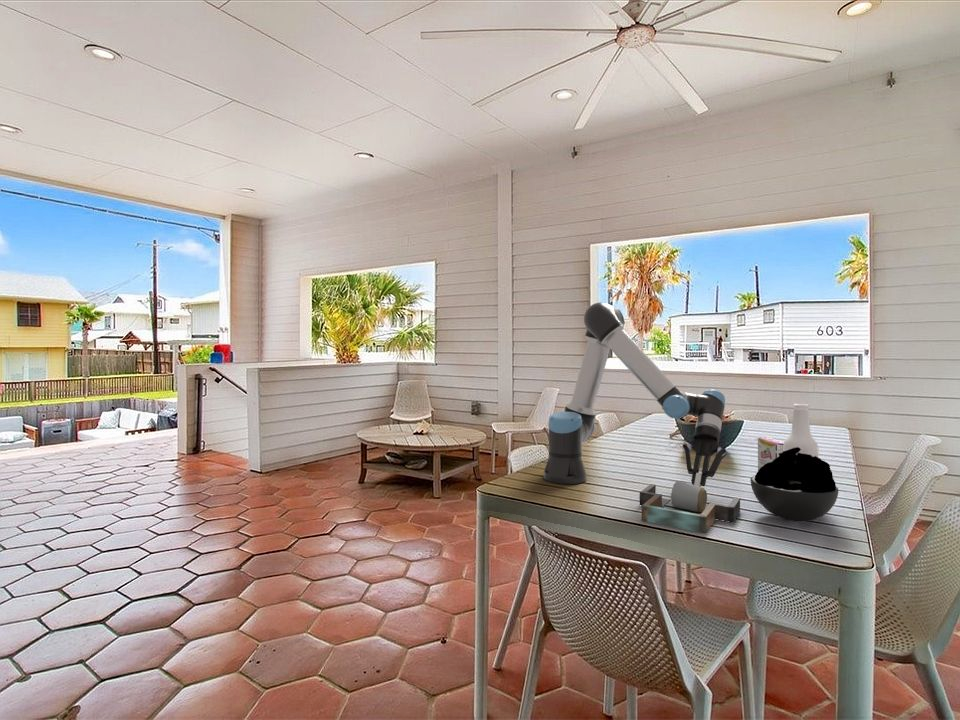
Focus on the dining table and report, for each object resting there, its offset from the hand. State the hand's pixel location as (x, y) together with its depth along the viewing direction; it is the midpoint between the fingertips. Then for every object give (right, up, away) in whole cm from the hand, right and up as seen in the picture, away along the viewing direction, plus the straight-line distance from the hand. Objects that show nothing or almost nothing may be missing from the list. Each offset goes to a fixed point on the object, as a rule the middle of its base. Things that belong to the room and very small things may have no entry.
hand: (696, 493), depth 146 cm
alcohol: (+30, -3, -1) cm, 31 cm away
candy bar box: (+32, -3, +15) cm, 35 cm away
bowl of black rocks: (+20, -3, -14) cm, 25 cm away
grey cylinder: (-4, -3, -5) cm, 7 cm away
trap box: (-8, -3, -10) cm, 13 cm away
